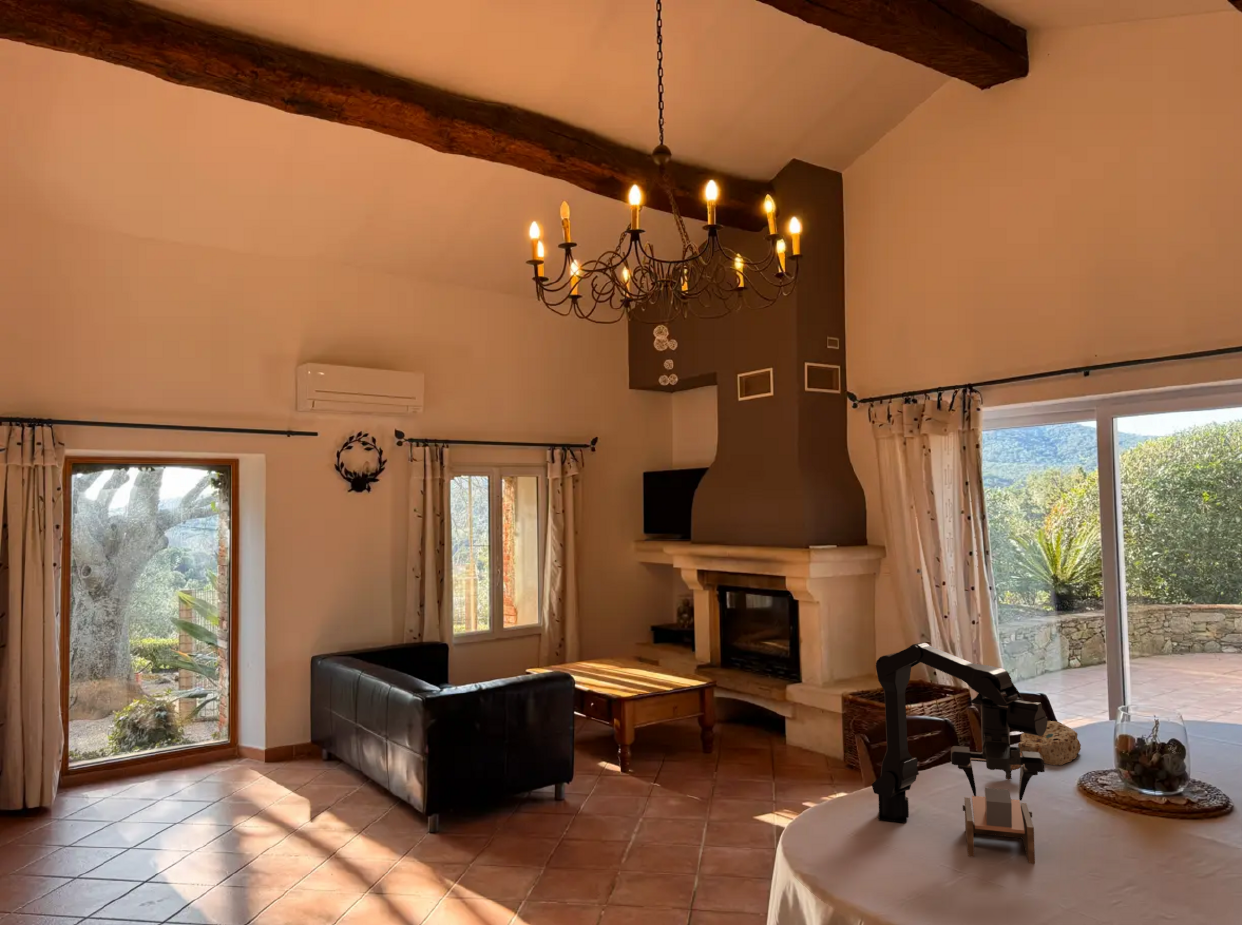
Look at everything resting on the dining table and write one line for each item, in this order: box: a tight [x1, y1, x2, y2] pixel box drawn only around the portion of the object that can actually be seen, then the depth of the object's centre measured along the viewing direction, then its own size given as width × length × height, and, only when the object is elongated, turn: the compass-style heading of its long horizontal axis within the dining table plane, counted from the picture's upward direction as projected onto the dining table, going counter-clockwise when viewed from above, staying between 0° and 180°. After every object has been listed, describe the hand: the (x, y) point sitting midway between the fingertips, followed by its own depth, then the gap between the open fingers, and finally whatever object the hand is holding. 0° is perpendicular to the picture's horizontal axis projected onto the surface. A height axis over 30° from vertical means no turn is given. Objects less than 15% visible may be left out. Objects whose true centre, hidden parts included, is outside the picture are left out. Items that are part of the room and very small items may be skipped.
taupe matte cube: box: [984, 787, 1012, 828], centre depth 190 cm, size 5×5×6 cm
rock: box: [1017, 720, 1082, 766], centre depth 257 cm, size 21×14×10 cm
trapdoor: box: [971, 795, 1025, 834], centre depth 194 cm, size 10×11×5 cm
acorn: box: [1004, 753, 1022, 781], centre depth 236 cm, size 8×8×10 cm
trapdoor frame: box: [962, 796, 1036, 865], centre depth 193 cm, size 14×15×8 cm
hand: (997, 797), depth 191 cm, fingers open, 9 cm apart
